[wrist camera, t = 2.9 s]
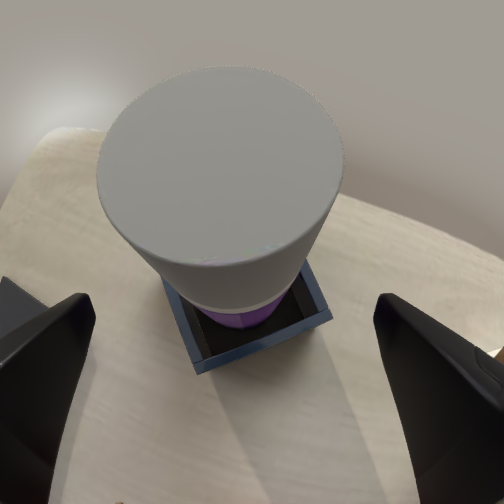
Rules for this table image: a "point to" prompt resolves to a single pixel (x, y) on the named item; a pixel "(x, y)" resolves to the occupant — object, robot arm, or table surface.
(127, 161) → the container
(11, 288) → the mat
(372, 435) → the table surface
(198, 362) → the holder
